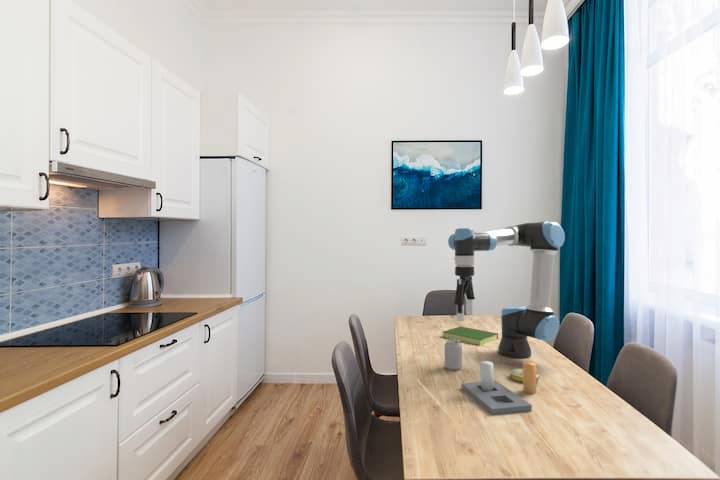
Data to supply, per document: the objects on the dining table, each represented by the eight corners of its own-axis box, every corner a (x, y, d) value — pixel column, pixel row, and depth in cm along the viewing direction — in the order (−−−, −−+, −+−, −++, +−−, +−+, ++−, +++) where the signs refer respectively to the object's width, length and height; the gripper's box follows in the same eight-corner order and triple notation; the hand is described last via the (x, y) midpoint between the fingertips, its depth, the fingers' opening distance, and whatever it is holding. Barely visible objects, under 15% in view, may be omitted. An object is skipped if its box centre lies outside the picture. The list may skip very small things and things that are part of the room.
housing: (461, 389, 143) (461, 383, 143) (495, 386, 146) (495, 380, 146) (492, 416, 121) (492, 409, 121) (531, 412, 124) (531, 405, 124)
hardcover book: (497, 340, 214) (497, 333, 214) (480, 346, 201) (480, 339, 201) (459, 332, 232) (459, 326, 232) (441, 337, 220) (441, 331, 220)
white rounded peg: (489, 390, 141) (489, 360, 141) (495, 394, 137) (495, 364, 137) (478, 391, 140) (478, 361, 140) (484, 395, 136) (484, 365, 136)
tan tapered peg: (531, 390, 142) (531, 361, 142) (539, 395, 138) (538, 364, 137) (520, 391, 141) (520, 361, 141) (528, 396, 137) (527, 365, 137)
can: (462, 371, 162) (462, 343, 162) (444, 370, 164) (444, 342, 164) (461, 365, 170) (461, 339, 170) (444, 364, 171) (444, 338, 171)
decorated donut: (542, 380, 153) (542, 370, 153) (533, 387, 145) (533, 378, 145) (516, 373, 160) (516, 364, 160) (506, 381, 152) (506, 371, 152)
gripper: (463, 263, 167) (464, 311, 167) (446, 267, 145) (446, 323, 146) (481, 264, 163) (481, 313, 163) (465, 268, 142) (466, 325, 142)
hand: (465, 318), depth 154 cm, fingers open, 13 cm apart
